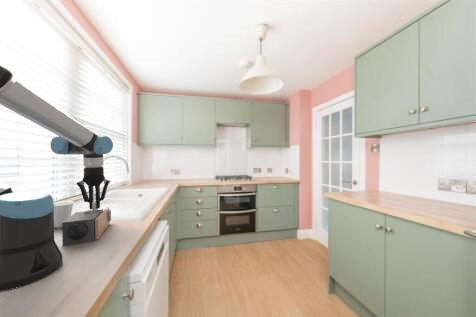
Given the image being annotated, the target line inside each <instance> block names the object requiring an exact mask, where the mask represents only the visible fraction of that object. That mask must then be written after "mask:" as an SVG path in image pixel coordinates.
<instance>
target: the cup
mask: <svg viewBox="0 0 476 317" xmlns="http://www.w3.org/2000/svg"><path fill="white" fill-rule="evenodd" d="M53 203H54V229H55V228H56V229H58V228H62V222H64V221H65V220H66V219H68V218H69V217H70V216H72V212H73V208H74V207H73V206H74V203H75V201H73V200H61V201H56V202H53Z"/></svg>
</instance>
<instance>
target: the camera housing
mask: <svg viewBox="0 0 476 317" xmlns="http://www.w3.org/2000/svg"><path fill="white" fill-rule="evenodd" d="M103 211H104V209H98V210H93V211H92V209H87V210H83V211H76V212H75V213H73V214H71V216H70V217H69V218H68V219H66V220H65V221H64V222H62V227H61V233H62V236H61V237H62V240H61V241H62V246H63V247H64V246H71V245H77V244H82V243H90V242H95V241H96V240H97V239H95V219H96V218H97V217H98V216H99V215H100V214H101V213H102V212H103Z"/></svg>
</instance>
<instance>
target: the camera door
mask: <svg viewBox="0 0 476 317" xmlns="http://www.w3.org/2000/svg"><path fill="white" fill-rule="evenodd" d="M111 221H112V209H110V206H107V207H105V209H103V212H102V213H101V214H100V215H99V216H98V217H97V218H96V219H95V239H96V240H99V239H100V238H101V236H102V235H103V233H104V231H105V230H106V228H107V227H108V225H109V224H110V223H111Z"/></svg>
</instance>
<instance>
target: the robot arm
mask: <svg viewBox="0 0 476 317" xmlns="http://www.w3.org/2000/svg"><path fill="white" fill-rule="evenodd" d="M0 105H1V106H3V107H4V108H7V109H8V110H10V111H12V112H14V113H15V114H17V115H19V116H21V117H23V118H25V119H27V120H29V121H30V122H32V123H34V124H36V125H38V126H39V127H41V128H43V129H45V130H46V131H49V132H51V133H53V134H55V135H56V136H54V137H53V138H51V141H50V150H51V151H52V153H54V154H55V155H64V156H65V155H83V160H82V161H83V166H84V167H83V177H82V179H81V181H78V182H76V185H77V187H79V190H80V193H81V196H82V198H83V201H84V203H89V205H88V207H89V210H91V211H93V210H100V208H101V202H102V201H104V199H105V198H106V195H107V190H108V186H109V184H110V183H111V180H110V179H106V177H105V175H104V174H105V171H104V169H105V168H104V167H103V166H104V155H107V154H109V153H111V152H112V150H113V148H114V142H113V140H112V139H111V137H109V136H106V135H101V134H99V133H98V134H97V133H96V132H94V131H92V130H91V129H89V128H88V127H87V126H85V125H83V124H82V123H80V122H79V121H77V120H76V119H74V118H73V117H72V116H70V115H69V114H67V113H65V112H64V111H62V109H60V108H58V107H56V106H55V105H54V104H52V103H51V102H49V101H48V100H46V98H43V97H42V96H41V95H39V94H37V93H36V92H34V91H32V90H31V89H30V88H28V86H26V85H24V84H23V83H21V82H20V81H18V80H17V79H15V76H14V73H13V72H12V71H10V70H9V69H8V68H6V67H5V66H3V65H2V64H0ZM102 183H103V187H102V191H101V185H102ZM85 185H87V186H88V192H87V189H86V187H85ZM11 187H12V186H11V185H9V184H7V183H4V182H1V181H0V292H4V291H9V289H10V290H13V289H12V288H14V289H17V288H16V287H18V288H21V287H24V285H25V286H27V285H30V284H32V283H35V282H38V281H39V280H42V279H44V278H46V277H48V276H50V275H51V274H53V273H55V272H56V271H58V270H59V269H60V268H61V267H62V266H63V263H64V262H63V257H64V256H63V254H62V252H61V250H60V248H59V246H58V245H57V243H56V241H55V228H54V203H55V202H54V199H53V197H52V195H51V194H49V193H48V192H47V193H46V192H41V191H19V192H18V191H17V192H14V191H13V189H12V188H11ZM94 188H95V193H94ZM94 194H95V195H94ZM94 196H95V198H94ZM94 199H95V200H94ZM20 286H21V287H20Z"/></svg>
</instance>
